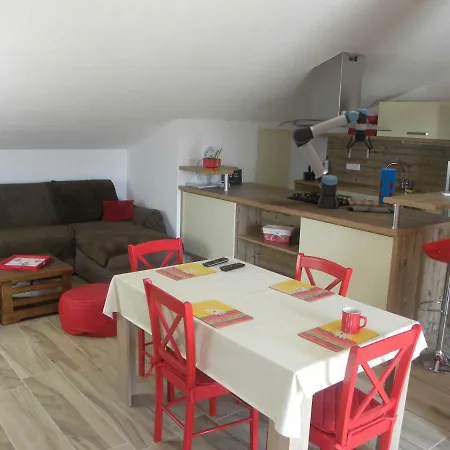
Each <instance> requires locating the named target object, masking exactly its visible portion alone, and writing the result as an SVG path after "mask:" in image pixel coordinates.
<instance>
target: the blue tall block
mask: <svg viewBox="0 0 450 450" xmlns="http://www.w3.org/2000/svg"><path fill="white" fill-rule="evenodd" d="M397 172H398V171H397V169H394V168H381V170H380V180H379V188H378V189H379V190H378V200H377V201H378V203H380V204H388V205H389V203H384V202H383V198H384V197H391V196H394V197H395V191H396V183H397V182H396V181H397Z"/></svg>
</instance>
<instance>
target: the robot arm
mask: <svg viewBox="0 0 450 450" xmlns="http://www.w3.org/2000/svg"><path fill="white" fill-rule="evenodd" d="M367 119H368V109H367V108H357V110H356V111H355V110H342V111H341V113H340V115H338V116H336V117H333V118H331V119H330V118H329V119H327V120H325V121H322V122H320V123H318V124H315V125H312V126H311V125H309V126H305V127H300V126H298V127H296V128H294V129H293V130H292V132H291V139H292V141H293V142H294V143H295V145H296V147H297V148H298V149H300V150H301V152H302V153H303V156H304V158H305V159H306V160H307V163H308V164H309V166H310V168H311V170H312V171H313V173H314V175H315V176H314V180H315V181H316V183H317V184H318V187H319V188H320V196H319V199H318V202H317V207H319V208H322V209H323V208H324V209H337V208H338V206H339V203H338V199H337V191H338V190H337V189H338V177H337V176H336V175H332V174H331V173H330V172H329V170H328V169H326V168H325V166H324V165H323V163H322V162H321V160H320V158H319V156H318V154H317V153H316V150H315V148H314V147H313V145H312V140H313V139H315V137H316V136H320V135H322V134H324V133H328V132H329V131H332V130H335V129H336V128H337V129H338V128H341V127H343V126H346V125H347V124H350V123H354V122H355V123H356V124H355V132H354V133H355V135H351V136H350V138H349V140H348V142H347V144H346V146H345V149H347V154H348V158H351V152H352V147H353V146H354V145H355V144H356V143H364V145H365V146H366V147H367V150H366V159H369V155H370V154H371V150H372V149H374V146H373V143H372V141H371V140H370V136H369V135H368V136H366V134H367V133H366V132H367V131H366V130H367V121H368V120H367ZM353 139H354V141H352V140H353ZM366 140H367V142H368V143H367V142H366ZM351 142H352V143H351ZM368 144H369V145H368Z"/></svg>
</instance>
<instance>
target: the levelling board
mask: <svg viewBox="0 0 450 450" xmlns="http://www.w3.org/2000/svg"><path fill="white" fill-rule="evenodd" d="M347 203H348V204H349V205H350V206H351V207H352V206H355V207H368V206H371V207H375V208H392V209H394V208H393V204H394V203H393V204H389V205H388V204H380V203H378V200H375V199H372V198H367V199H363V200H359V199H348V200H347Z"/></svg>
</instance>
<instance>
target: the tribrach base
mask: <svg viewBox="0 0 450 450" xmlns="http://www.w3.org/2000/svg"><path fill="white" fill-rule="evenodd" d="M351 207H352V208H351V209H352V210H353V211H354V212H362V211H374V212H373V213H382V212H388V213H387V214H389V213H390V214H391V213H392V212H391V210H389V208H388V207H371V206H351Z"/></svg>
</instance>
